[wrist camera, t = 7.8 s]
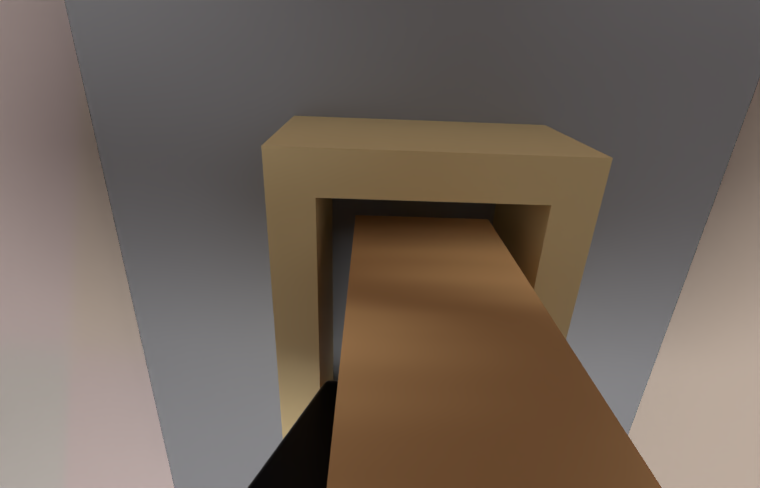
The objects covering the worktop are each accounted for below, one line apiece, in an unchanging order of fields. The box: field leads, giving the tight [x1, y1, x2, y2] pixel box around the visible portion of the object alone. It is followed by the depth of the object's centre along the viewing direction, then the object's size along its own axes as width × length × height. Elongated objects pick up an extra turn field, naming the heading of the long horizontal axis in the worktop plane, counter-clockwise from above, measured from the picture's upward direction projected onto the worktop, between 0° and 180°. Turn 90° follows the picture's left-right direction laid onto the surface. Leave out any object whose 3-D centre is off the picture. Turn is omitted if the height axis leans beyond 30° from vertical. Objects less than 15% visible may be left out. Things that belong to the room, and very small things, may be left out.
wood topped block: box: [327, 215, 661, 488], centre depth 6 cm, size 2×5×7 cm, turn 178°
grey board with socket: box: [64, 0, 760, 488], centre depth 10 cm, size 14×16×4 cm
